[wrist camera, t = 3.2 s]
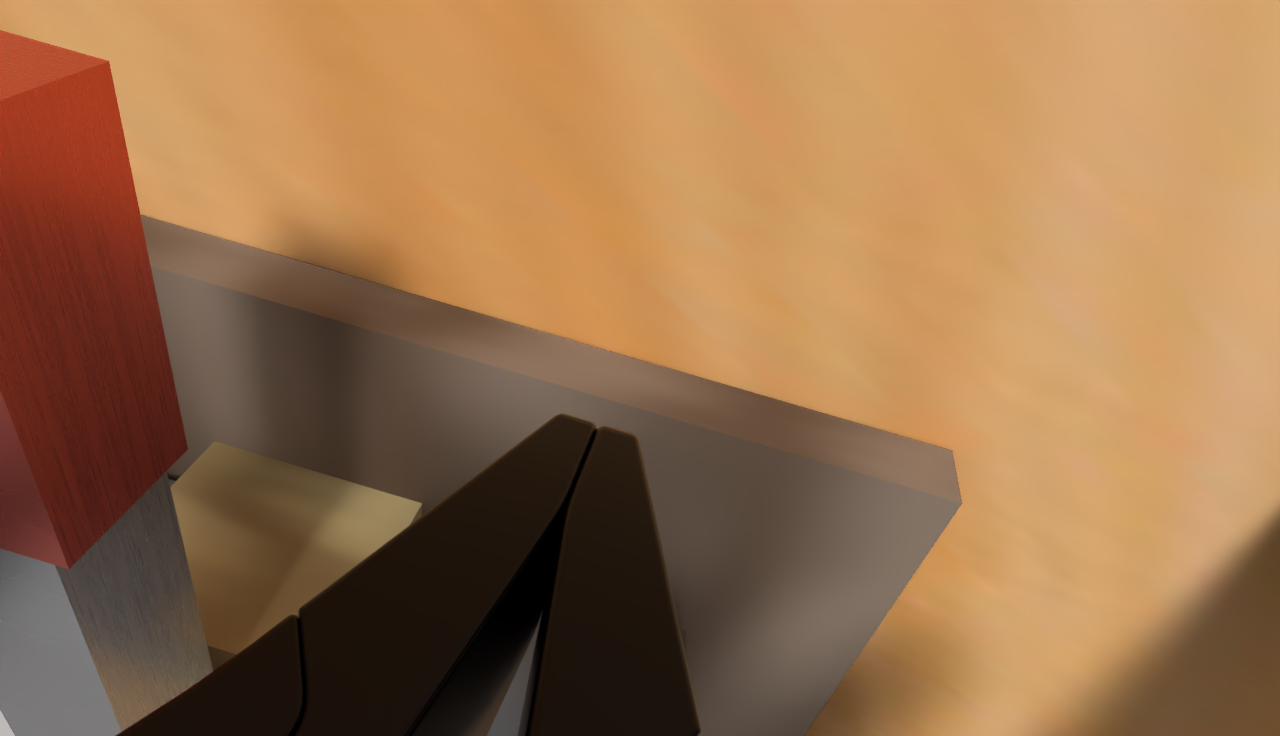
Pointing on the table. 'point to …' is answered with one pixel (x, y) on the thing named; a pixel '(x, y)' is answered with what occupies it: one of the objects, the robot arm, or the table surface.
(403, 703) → the robot arm
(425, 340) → the valve mount
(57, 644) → the lever
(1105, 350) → the table surface
